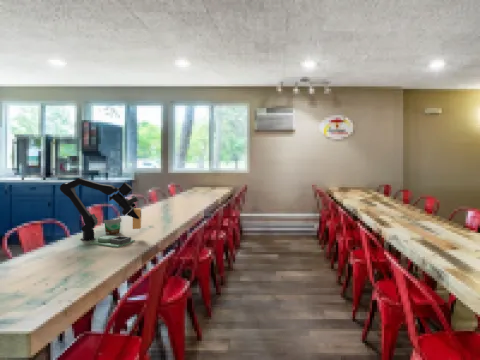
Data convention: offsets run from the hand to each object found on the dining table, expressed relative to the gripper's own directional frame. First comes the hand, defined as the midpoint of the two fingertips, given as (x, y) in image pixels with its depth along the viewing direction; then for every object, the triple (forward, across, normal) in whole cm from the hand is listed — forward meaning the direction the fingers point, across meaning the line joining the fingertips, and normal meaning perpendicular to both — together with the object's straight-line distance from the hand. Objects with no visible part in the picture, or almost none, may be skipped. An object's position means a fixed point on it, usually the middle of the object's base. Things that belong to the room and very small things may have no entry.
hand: (139, 217), depth 204 cm
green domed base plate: (0, -9, +19) cm, 22 cm away
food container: (-3, +14, +23) cm, 27 cm away
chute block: (+4, 0, +6) cm, 7 cm away
